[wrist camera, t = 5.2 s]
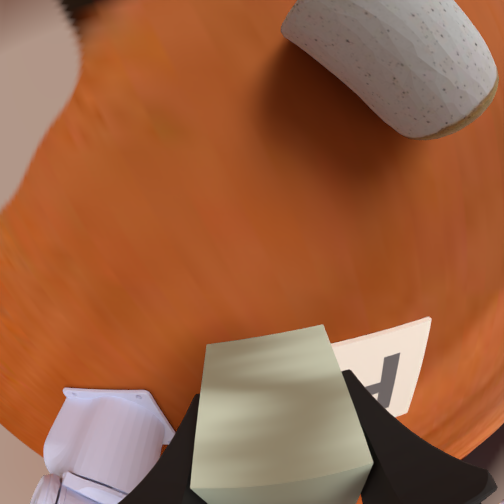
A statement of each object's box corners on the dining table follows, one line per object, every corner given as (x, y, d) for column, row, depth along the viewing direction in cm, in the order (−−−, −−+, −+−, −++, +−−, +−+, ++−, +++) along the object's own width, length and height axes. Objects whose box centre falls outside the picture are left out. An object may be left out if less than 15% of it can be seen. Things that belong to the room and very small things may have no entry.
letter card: (289, 440, 23) (290, 444, 23) (273, 355, 19) (274, 359, 18) (405, 409, 23) (407, 412, 22) (428, 316, 18) (431, 319, 18)
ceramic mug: (383, 149, 14) (480, 162, 7) (267, 51, 12) (294, -25, 5) (457, 47, 12) (538, 29, 4) (367, -38, 10) (421, -95, 2)
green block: (232, 411, 12) (232, 523, 7) (206, 344, 11) (190, 487, 5) (325, 395, 12) (355, 505, 7) (323, 324, 11) (373, 462, 5)
